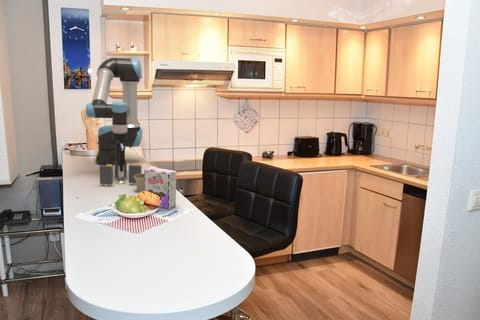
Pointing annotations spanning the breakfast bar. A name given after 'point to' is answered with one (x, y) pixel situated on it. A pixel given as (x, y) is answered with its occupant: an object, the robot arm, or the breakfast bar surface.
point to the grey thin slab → (134, 172)
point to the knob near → (117, 169)
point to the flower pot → (139, 182)
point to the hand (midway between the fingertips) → (120, 176)
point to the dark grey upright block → (106, 175)
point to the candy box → (161, 185)
